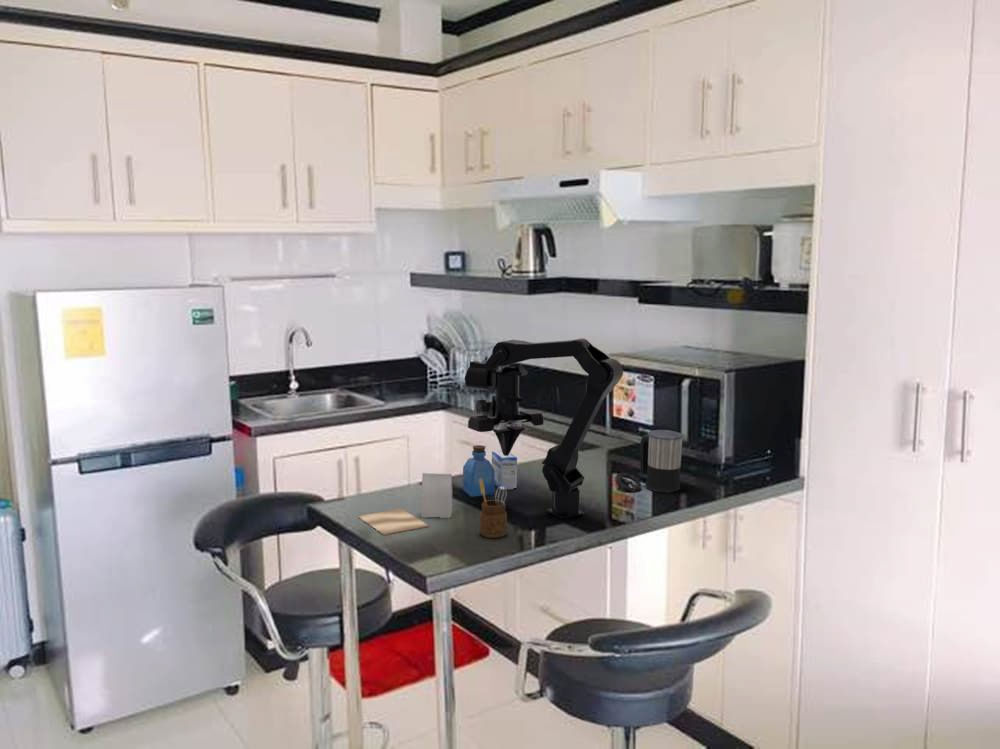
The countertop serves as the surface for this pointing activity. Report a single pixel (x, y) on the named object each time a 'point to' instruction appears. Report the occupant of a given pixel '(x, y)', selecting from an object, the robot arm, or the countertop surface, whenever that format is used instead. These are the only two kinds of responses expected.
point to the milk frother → (657, 462)
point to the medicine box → (504, 470)
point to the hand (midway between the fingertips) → (505, 455)
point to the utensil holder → (492, 516)
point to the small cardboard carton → (436, 495)
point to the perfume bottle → (478, 473)
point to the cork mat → (393, 521)
